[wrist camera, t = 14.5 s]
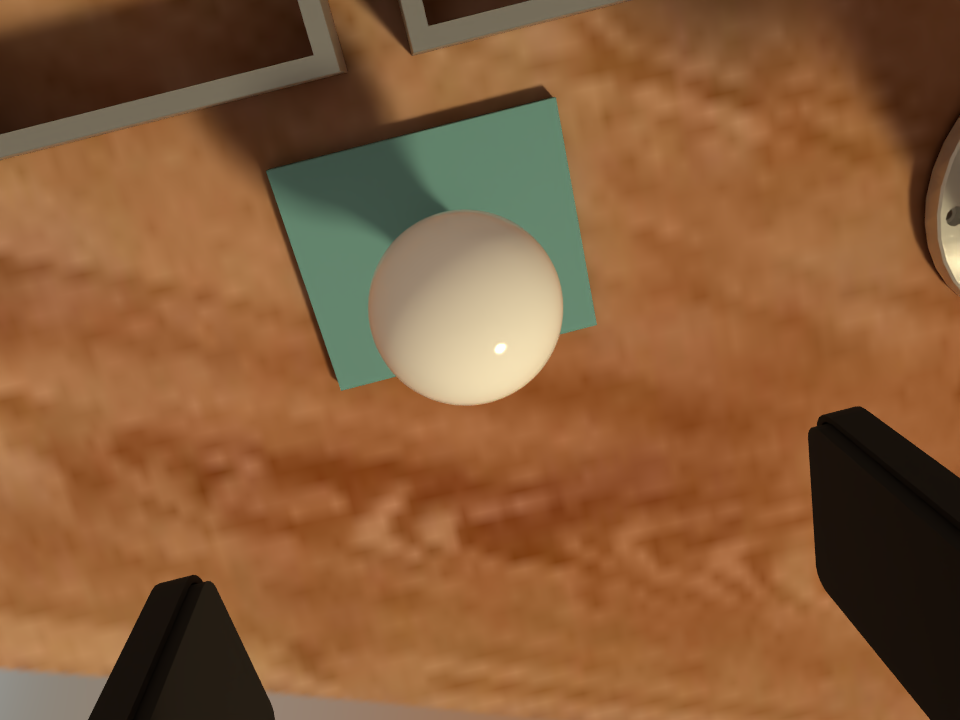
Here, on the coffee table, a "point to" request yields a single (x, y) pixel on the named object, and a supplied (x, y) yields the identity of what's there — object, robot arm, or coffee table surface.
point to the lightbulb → (465, 307)
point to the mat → (425, 214)
